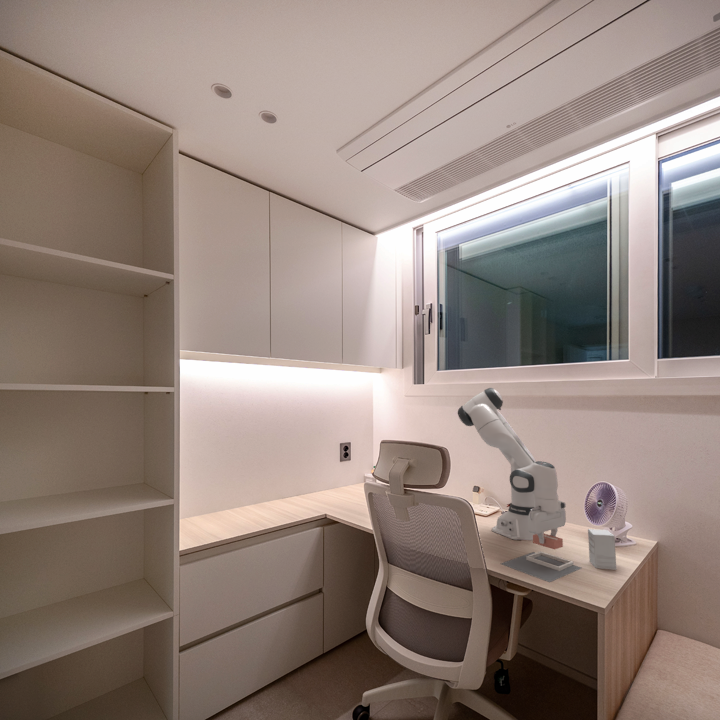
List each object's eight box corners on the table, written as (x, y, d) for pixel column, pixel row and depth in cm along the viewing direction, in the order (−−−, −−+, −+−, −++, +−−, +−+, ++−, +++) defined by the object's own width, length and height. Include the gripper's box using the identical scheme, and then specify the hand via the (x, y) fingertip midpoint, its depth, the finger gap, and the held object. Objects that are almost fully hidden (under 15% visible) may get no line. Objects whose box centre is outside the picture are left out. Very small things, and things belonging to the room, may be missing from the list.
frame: (526, 559, 165) (526, 556, 165) (540, 554, 170) (540, 551, 170) (559, 570, 154) (559, 567, 154) (573, 565, 159) (573, 561, 160)
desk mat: (500, 564, 160) (499, 563, 160) (533, 553, 173) (533, 552, 173) (549, 583, 144) (549, 582, 144) (582, 568, 157) (582, 567, 157)
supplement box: (609, 563, 162) (608, 529, 163) (617, 571, 155) (615, 535, 156) (588, 561, 164) (587, 528, 165) (594, 569, 157) (593, 534, 158)
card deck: (562, 546, 160) (562, 538, 161) (554, 549, 157) (554, 541, 158) (541, 540, 168) (540, 532, 168) (533, 543, 165) (532, 534, 165)
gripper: (537, 510, 156) (539, 549, 154) (568, 502, 167) (569, 538, 166) (522, 506, 161) (524, 544, 159) (553, 499, 172) (554, 534, 171)
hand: (547, 541), depth 163 cm, fingers closed on card deck, 5 cm apart
